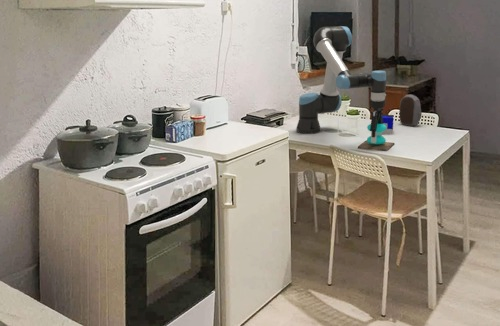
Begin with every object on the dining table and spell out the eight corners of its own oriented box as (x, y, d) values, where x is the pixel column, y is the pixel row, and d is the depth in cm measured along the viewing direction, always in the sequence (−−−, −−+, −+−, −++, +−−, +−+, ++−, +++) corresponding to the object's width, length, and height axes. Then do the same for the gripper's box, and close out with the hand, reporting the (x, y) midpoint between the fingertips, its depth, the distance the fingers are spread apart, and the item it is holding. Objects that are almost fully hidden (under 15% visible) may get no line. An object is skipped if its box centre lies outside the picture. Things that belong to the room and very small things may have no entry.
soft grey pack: (396, 124, 345) (397, 93, 339) (404, 122, 349) (406, 92, 344) (415, 127, 333) (417, 96, 327) (423, 125, 338) (425, 94, 332)
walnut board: (357, 148, 285) (357, 146, 285) (365, 142, 298) (365, 140, 298) (387, 151, 278) (387, 149, 277) (394, 144, 291) (394, 142, 291)
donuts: (387, 123, 287) (384, 127, 279) (387, 141, 290) (383, 145, 281) (369, 122, 291) (365, 126, 282) (368, 140, 294) (365, 144, 285)
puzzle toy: (392, 134, 316) (393, 118, 313) (375, 134, 318) (376, 117, 315) (391, 130, 326) (392, 114, 323) (375, 130, 328) (375, 114, 325)
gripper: (379, 103, 270) (377, 145, 276) (390, 97, 289) (388, 136, 295) (364, 103, 273) (363, 144, 279) (376, 96, 293) (374, 135, 299)
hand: (376, 140), depth 287 cm, fingers open, 10 cm apart
